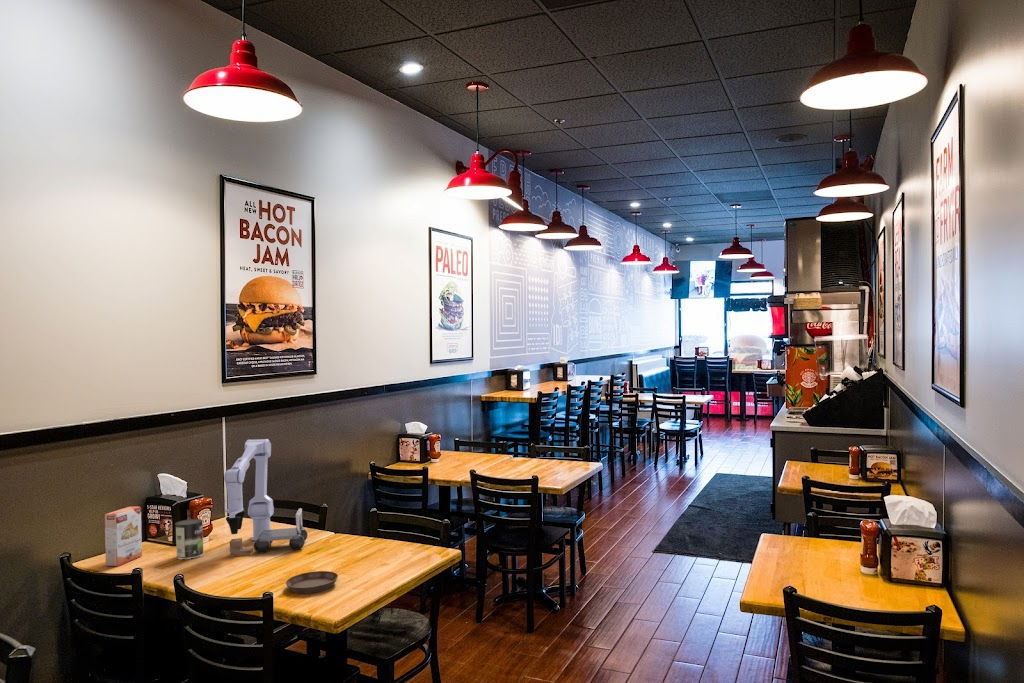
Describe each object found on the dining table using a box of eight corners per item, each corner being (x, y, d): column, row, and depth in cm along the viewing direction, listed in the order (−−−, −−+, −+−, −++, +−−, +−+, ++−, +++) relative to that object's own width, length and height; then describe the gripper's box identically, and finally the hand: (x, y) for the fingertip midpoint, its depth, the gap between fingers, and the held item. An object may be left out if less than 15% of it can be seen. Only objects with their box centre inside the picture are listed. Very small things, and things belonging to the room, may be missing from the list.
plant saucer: (275, 590, 248) (274, 582, 248) (315, 576, 262) (314, 567, 262) (309, 599, 238) (309, 590, 238) (348, 583, 253) (348, 575, 253)
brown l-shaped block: (232, 553, 295) (232, 539, 295) (252, 551, 297) (252, 537, 297) (230, 556, 291) (229, 542, 291) (250, 555, 292) (250, 540, 292)
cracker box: (118, 567, 282) (116, 514, 282) (105, 566, 283) (103, 513, 283) (143, 556, 296) (141, 505, 296) (130, 556, 297) (128, 505, 297)
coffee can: (208, 551, 299) (207, 518, 299) (196, 559, 289) (195, 524, 289) (183, 552, 299) (182, 519, 299) (171, 560, 289) (170, 525, 289)
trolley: (259, 545, 306) (258, 511, 306) (307, 541, 310) (306, 507, 310) (254, 553, 294) (252, 518, 294) (304, 549, 297) (303, 514, 297)
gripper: (228, 495, 300) (229, 527, 300) (220, 503, 286) (222, 537, 286) (246, 494, 301) (247, 526, 301) (239, 501, 287) (240, 535, 287)
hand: (236, 531), depth 294 cm, fingers open, 7 cm apart
